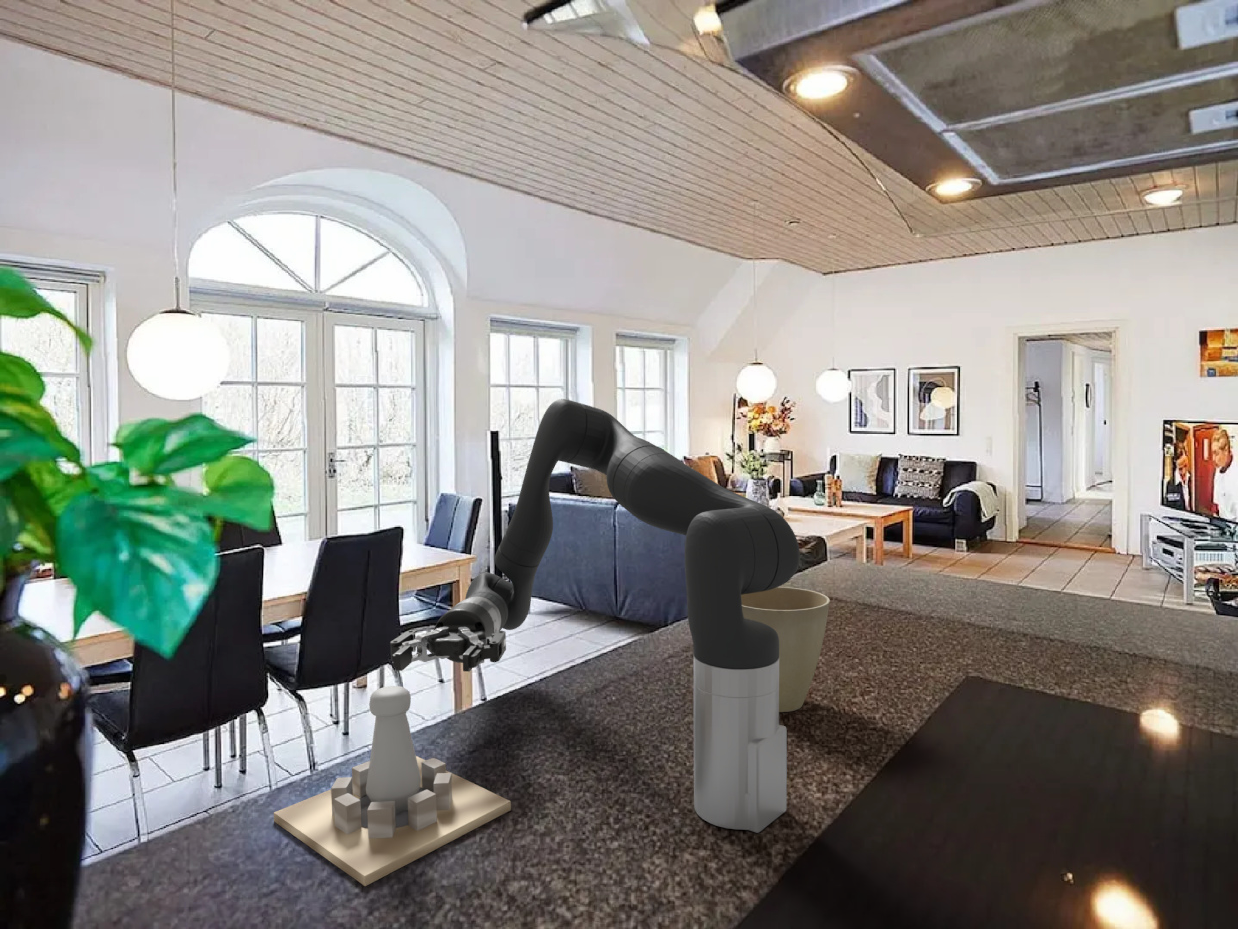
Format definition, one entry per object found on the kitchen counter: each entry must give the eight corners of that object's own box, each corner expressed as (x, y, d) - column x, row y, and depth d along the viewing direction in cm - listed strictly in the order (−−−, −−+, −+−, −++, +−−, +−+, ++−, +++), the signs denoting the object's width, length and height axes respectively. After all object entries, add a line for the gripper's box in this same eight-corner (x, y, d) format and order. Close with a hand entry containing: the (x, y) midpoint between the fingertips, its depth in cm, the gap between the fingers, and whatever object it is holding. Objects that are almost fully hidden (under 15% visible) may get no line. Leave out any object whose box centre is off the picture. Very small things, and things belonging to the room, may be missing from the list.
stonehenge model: (510, 810, 88) (510, 775, 87) (365, 886, 74) (363, 845, 74) (415, 763, 99) (414, 732, 99) (274, 821, 86) (272, 785, 86)
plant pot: (848, 703, 117) (849, 597, 116) (789, 732, 107) (790, 616, 106) (766, 678, 128) (766, 581, 127) (705, 702, 118) (705, 597, 117)
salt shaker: (401, 787, 91) (397, 676, 90) (432, 803, 87) (428, 687, 86) (355, 807, 86) (351, 691, 85) (386, 825, 83) (381, 704, 82)
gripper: (419, 601, 113) (374, 633, 97) (517, 601, 112) (487, 633, 96) (421, 653, 114) (376, 693, 98) (519, 654, 113) (489, 694, 96)
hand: (431, 663), depth 97 cm, fingers open, 8 cm apart
